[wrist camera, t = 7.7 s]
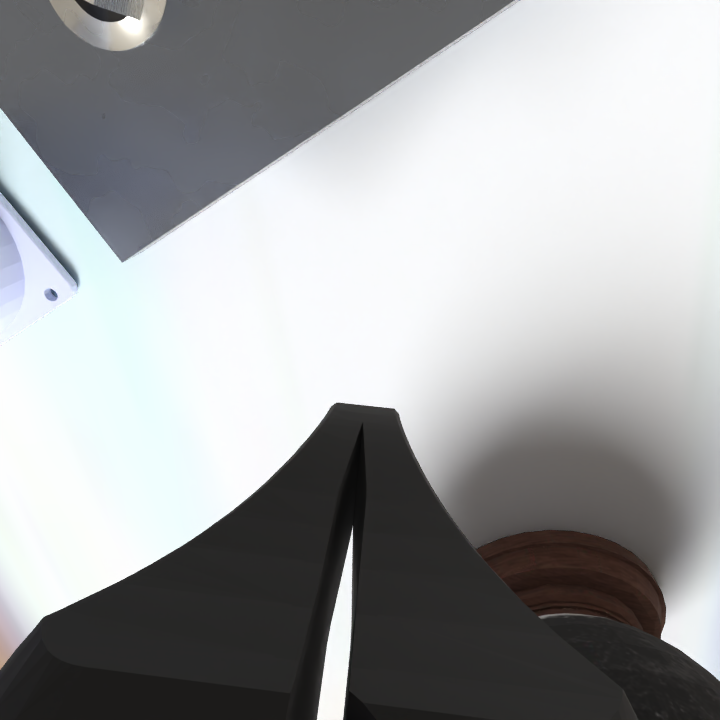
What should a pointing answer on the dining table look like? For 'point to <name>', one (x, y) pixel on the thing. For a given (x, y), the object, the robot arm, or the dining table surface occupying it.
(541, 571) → the black ball on base
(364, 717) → the robot arm
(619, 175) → the dining table surface
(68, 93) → the bolt plate
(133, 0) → the leg
